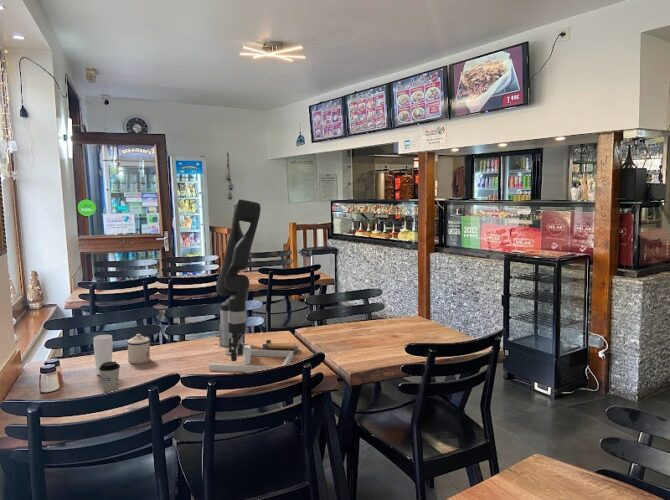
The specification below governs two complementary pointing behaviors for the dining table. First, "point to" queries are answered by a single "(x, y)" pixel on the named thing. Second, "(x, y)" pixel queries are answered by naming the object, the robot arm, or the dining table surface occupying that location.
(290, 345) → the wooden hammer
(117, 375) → the coffee cup
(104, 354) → the drinking glass
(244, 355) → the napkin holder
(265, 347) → the pedal base
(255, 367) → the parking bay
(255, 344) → the dining table surface
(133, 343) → the teacup with lid
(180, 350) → the dining table surface
